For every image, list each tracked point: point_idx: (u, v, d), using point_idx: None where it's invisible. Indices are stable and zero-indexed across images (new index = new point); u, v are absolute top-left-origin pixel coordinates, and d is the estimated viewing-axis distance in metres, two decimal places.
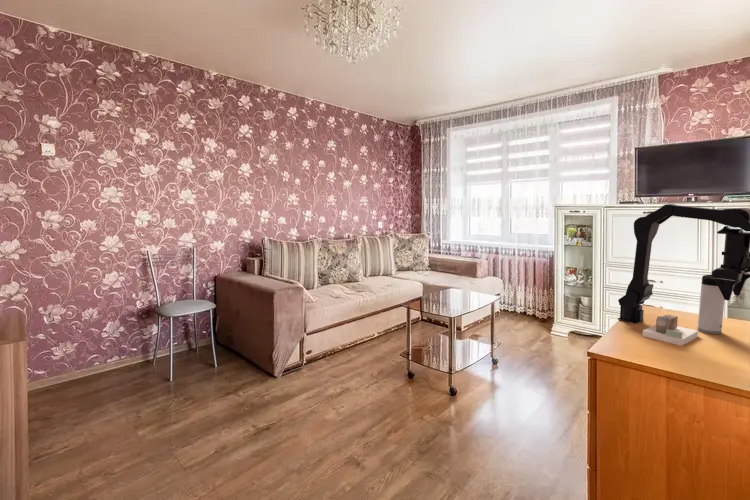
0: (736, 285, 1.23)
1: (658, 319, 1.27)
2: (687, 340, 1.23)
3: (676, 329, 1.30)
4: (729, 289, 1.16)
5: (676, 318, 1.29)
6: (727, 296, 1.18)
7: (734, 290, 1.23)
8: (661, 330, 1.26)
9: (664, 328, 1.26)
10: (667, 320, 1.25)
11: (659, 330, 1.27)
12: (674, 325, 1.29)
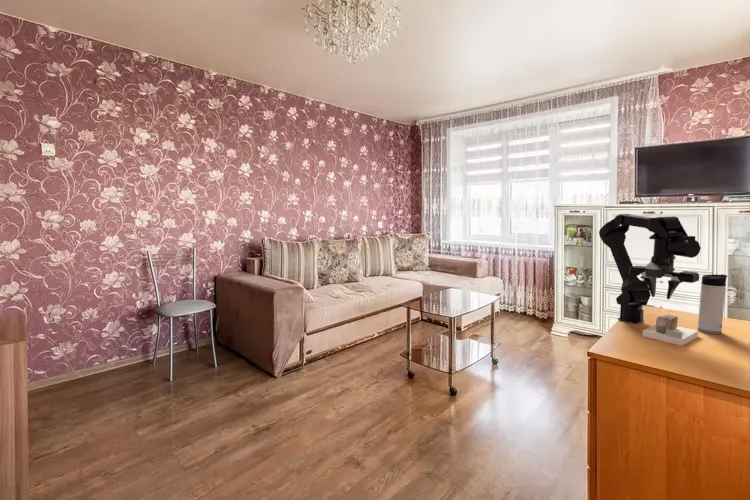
0: None
1: (658, 319, 1.27)
2: (687, 340, 1.23)
3: (676, 329, 1.30)
4: None
5: (676, 318, 1.29)
6: None
7: None
8: (661, 330, 1.26)
9: (664, 328, 1.26)
10: (667, 320, 1.25)
11: (659, 330, 1.27)
12: (674, 325, 1.29)
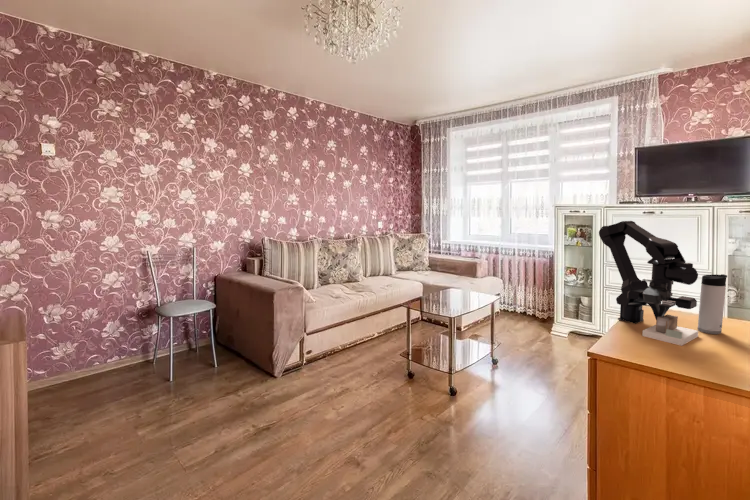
0: None
1: (658, 319, 1.27)
2: (687, 340, 1.23)
3: (676, 329, 1.30)
4: None
5: (676, 318, 1.29)
6: None
7: None
8: (661, 330, 1.26)
9: (664, 328, 1.26)
10: (667, 320, 1.25)
11: (659, 330, 1.27)
12: (674, 325, 1.29)
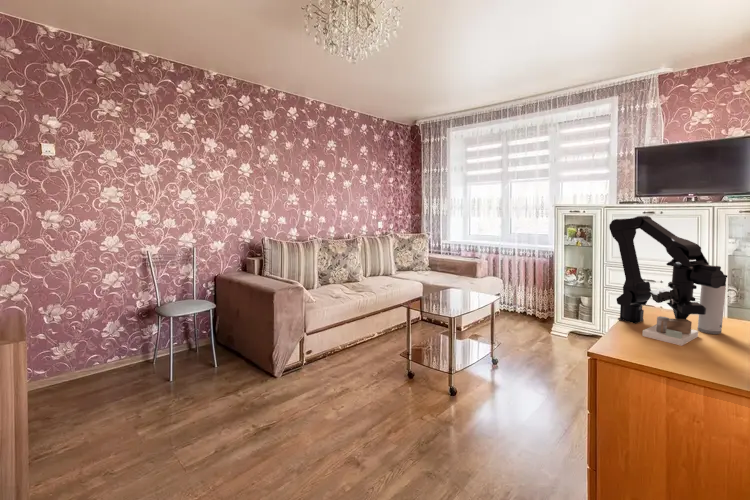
0: None
1: (657, 318, 1.28)
2: (687, 340, 1.23)
3: None
4: None
5: (688, 323, 1.24)
6: None
7: None
8: (657, 329, 1.27)
9: (659, 327, 1.27)
10: (663, 320, 1.26)
11: (656, 329, 1.28)
12: (684, 329, 1.25)
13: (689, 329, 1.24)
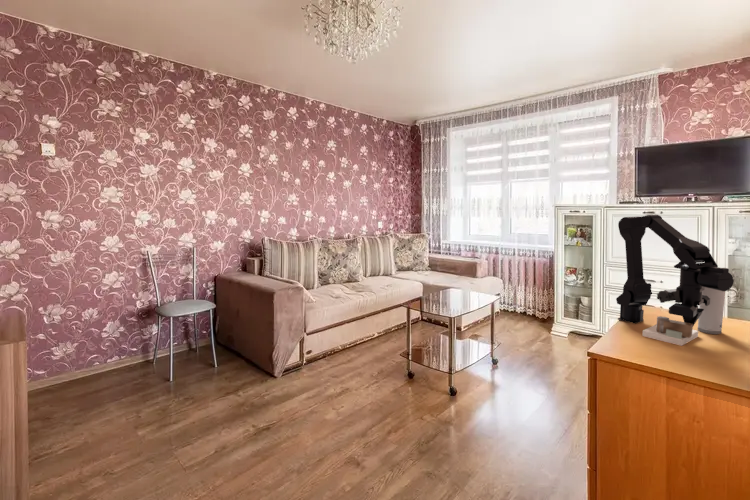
0: None
1: None
2: (687, 340, 1.23)
3: None
4: None
5: (687, 327, 1.21)
6: None
7: None
8: (656, 328, 1.28)
9: (657, 326, 1.28)
10: (659, 319, 1.26)
11: None
12: (682, 332, 1.22)
13: (688, 333, 1.21)
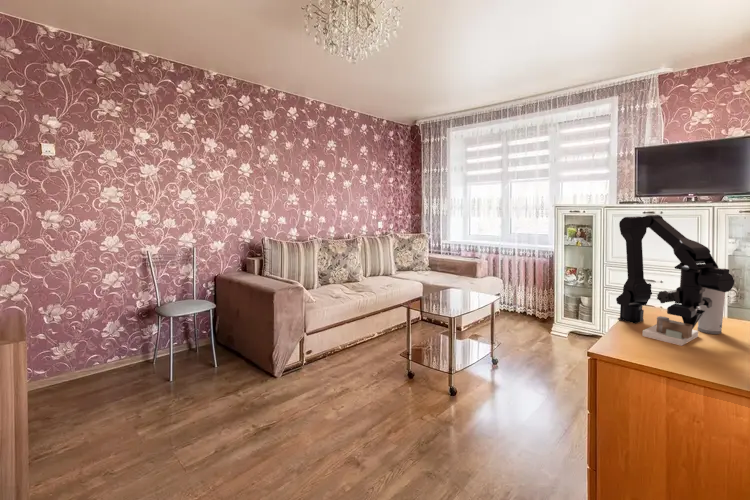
0: None
1: None
2: (687, 340, 1.23)
3: None
4: None
5: (685, 328, 1.21)
6: None
7: None
8: (656, 328, 1.29)
9: None
10: (658, 319, 1.27)
11: None
12: None
13: (686, 334, 1.21)
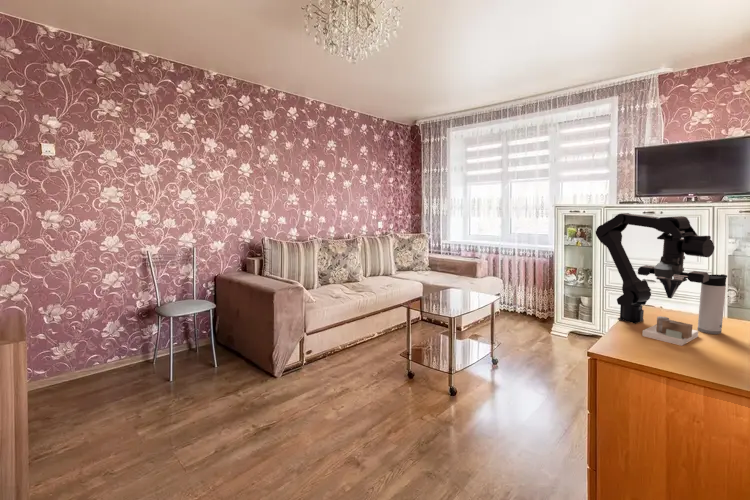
0: None
1: None
2: (687, 340, 1.23)
3: None
4: None
5: (685, 328, 1.21)
6: None
7: None
8: (656, 328, 1.29)
9: None
10: (658, 319, 1.27)
11: None
12: None
13: (686, 334, 1.21)
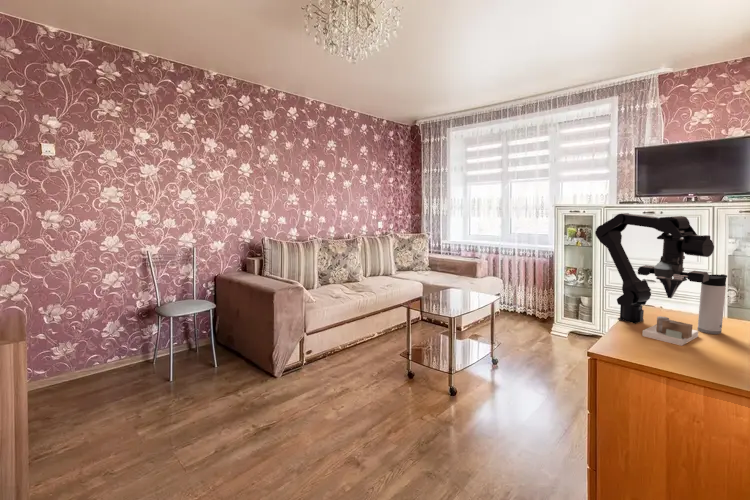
0: None
1: None
2: (687, 340, 1.23)
3: None
4: None
5: (685, 328, 1.21)
6: None
7: None
8: (656, 328, 1.29)
9: None
10: (658, 319, 1.27)
11: None
12: None
13: (686, 334, 1.21)
